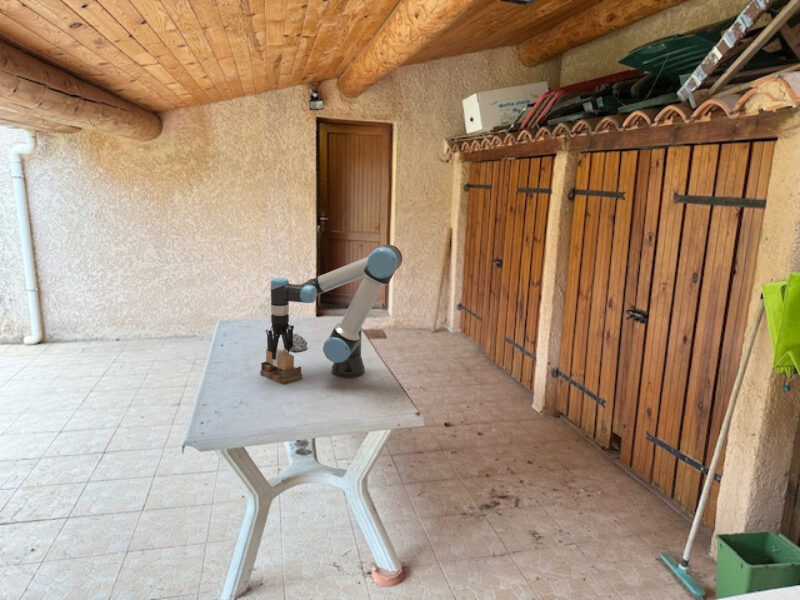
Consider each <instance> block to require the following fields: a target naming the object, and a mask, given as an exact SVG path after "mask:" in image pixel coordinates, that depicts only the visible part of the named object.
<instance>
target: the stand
mask: <svg viewBox="0 0 800 600" xmlns="http://www.w3.org/2000/svg"><path fill="white" fill-rule="evenodd" d="M260 364H261V365H260V367H261V368H260V369H261V370H260V371H259V372H260V376H263V377H265V378H268V379H270V380H273V381H275V382H277V383H279V384H281V385H284V386H285V385H288V384H290V383H293V382H296V381H300V380H303V373H302V366H297V367H295V366H294V369H291V370H287V371H284V370H282V369H280V368H278V367H276V366H273V365H271V364H269V363H267V362H266V361H262V362H260Z"/></svg>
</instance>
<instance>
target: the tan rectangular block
mask: <svg viewBox="0 0 800 600" xmlns="http://www.w3.org/2000/svg"><path fill="white" fill-rule="evenodd" d="M277 352H278V368H280V369H282V370H284V371H287V370H291V369H294V367H295V366H294V365H295V355H293V354H291V353H290V352H289V353H286V352H284V351H283V349H280V348H277ZM265 354H266V355H265V362H267V363H269V364H271V365H273V359H272V352H269V351H268V349H267V348H266V350H265Z"/></svg>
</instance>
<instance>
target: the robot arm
mask: <svg viewBox="0 0 800 600" xmlns="http://www.w3.org/2000/svg"><path fill="white" fill-rule="evenodd" d="M402 263H403V255H402V252H401V250H400V249H399V248H398V247H397V246H395V245H392V244H384V245H382V246H380V247H377V248H375V249H374V250H372V252H370V253H369V255H368V256H366V257H363V258H362V259H358V260H356V261H354V262H351V263H348V264H347V265H344V266H341V267H339V268H336V269H333V270H331V271H329V272H327V273H324V274H321V275H319V276H316V277H313V278H311V279H308V280H306V281H305V282H302V283H300V284H298V283H297V284H295V283H290V282H289V278H285V277H274V278H272V279H271V281H270V313H271V314H270V321H271V326H270V327H271V328H269V329H266V330H265V333H266V338H267V339H266V344H267V348H266V349H268V351H269V352H272V359H273V366H276V367H278V352H277V349H278V345H279V340H280V337H281V338H282V343H283V348H282V351H284V352H286V353H289V354H290V351H289V350H290V349H291V348H290V347H293V334H294V328H295V326H294V325H292V324H289V322H290V314H289V313H290V310H289V309H290V307H289V306H290V304H289V302H292V303H293V302H294V303H304V304H313V303H315V302H316V299H317V296H318V295H321V294H324V293H327V292H329V291H331V290H334V289H336V288H338V287H342V286H344V285H347V284H349V283H352V282H354V281H356V280H360V279H362V278H363V279H362V281H361V283H360V285H359V287H358V289H357V291H356V293H355V295H354V297H353V298H352V300H351V302H350V304H349V306H348V308H347V310H346V312H345V313H344V316H343V318H342V320H341V322H339V323H338V322H337V324H335V326H334V327H333V330H332V331H331V333H330V335H329V337H328V338H327V339H326V340H325V342H324V343H323V346H322V351H323V353H324V356H325V357H326V359H327V360H329V361H330V362H331V363H333V364H332V366H331V373H332V375H334V376H336V377H338V378H339V377H340V378H347V379H348V378H357V377H360V376H362V375H364V374H365V371H366V369H365V365H364V361H363V358H362V332H363V330H362V327H363V325H364V323H365V322H366V319H367V317H368V316H369V313H370V312H371V310H372V308H373V306H374V305H375V302H376V300H377V298H378V297H379V294H380V293H381V290H382V289H383V287H384V286H387V285H389V283H390V281H391V279H392V278H393V276H394V274H395V272H396V271H397V270H398V269H399V268H400V267H401V266H402Z"/></svg>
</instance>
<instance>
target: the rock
mask: <svg viewBox="0 0 800 600" xmlns="http://www.w3.org/2000/svg"><path fill="white" fill-rule="evenodd" d="M307 345H308V342H307V341H306V339H304V337H303V336H302V335H299V334H298V333H297V332H295V333H293V347H290V348H291V349H290V350H289V352H301V351H306V350H307V349H308V347H307Z"/></svg>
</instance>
